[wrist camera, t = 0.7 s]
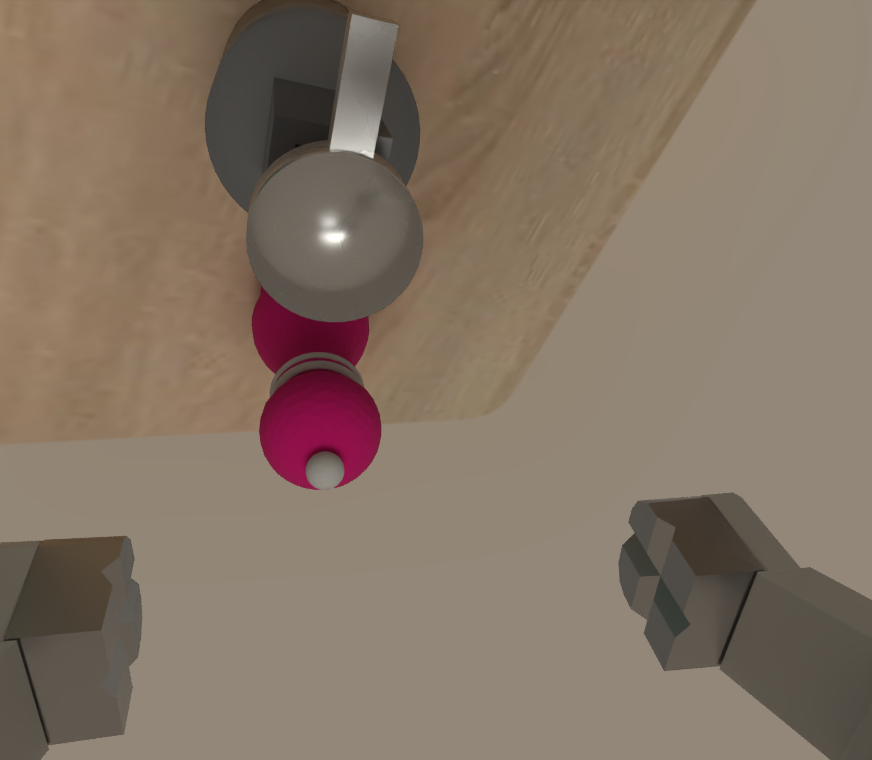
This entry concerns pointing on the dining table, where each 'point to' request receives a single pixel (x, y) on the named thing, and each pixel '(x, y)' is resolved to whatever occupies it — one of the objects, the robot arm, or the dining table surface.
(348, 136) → the pump head
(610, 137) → the dining table surface
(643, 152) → the dining table surface
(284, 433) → the pepper mill
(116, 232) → the dining table surface
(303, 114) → the dispenser
